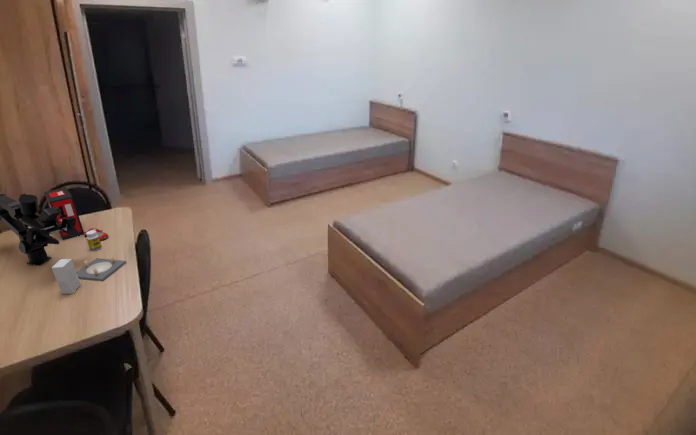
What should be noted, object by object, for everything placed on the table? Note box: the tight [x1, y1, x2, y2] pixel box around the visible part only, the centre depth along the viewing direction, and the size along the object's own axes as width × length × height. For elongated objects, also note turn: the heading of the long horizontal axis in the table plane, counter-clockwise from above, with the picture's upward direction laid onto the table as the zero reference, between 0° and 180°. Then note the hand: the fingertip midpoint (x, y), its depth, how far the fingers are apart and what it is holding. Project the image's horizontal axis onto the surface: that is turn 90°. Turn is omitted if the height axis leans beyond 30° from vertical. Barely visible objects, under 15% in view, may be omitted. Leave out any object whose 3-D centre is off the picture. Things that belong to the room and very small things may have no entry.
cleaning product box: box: [43, 187, 85, 241], centre depth 193 cm, size 16×9×20 cm, turn 43°
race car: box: [83, 227, 109, 242], centre depth 191 cm, size 13×5×4 cm, turn 63°
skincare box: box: [51, 258, 82, 295], centre depth 150 cm, size 6×4×12 cm
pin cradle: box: [76, 255, 127, 282], centre depth 164 cm, size 14×14×4 cm
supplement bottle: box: [86, 230, 103, 252], centre depth 180 cm, size 5×5×8 cm
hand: (69, 238), depth 156 cm, fingers open, 9 cm apart
